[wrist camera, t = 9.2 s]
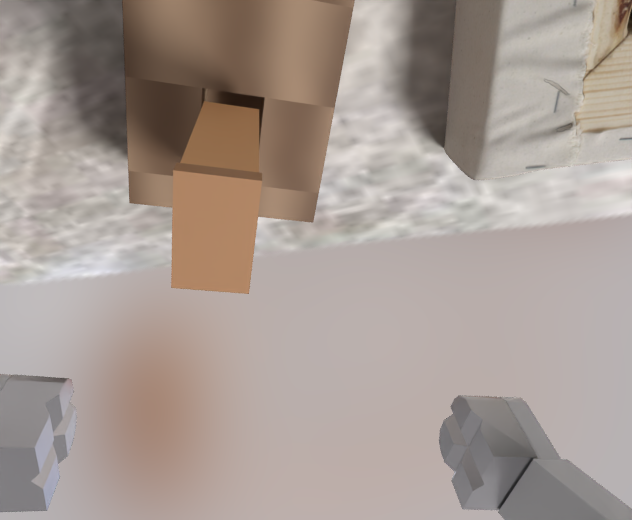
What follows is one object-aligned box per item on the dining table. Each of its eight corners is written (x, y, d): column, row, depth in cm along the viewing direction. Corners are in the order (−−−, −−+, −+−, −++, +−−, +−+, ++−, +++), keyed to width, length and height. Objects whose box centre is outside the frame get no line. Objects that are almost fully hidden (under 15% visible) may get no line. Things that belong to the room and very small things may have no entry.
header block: (147, 168, 35) (129, 202, 30) (143, -210, 25) (113, -255, 20) (305, 187, 38) (313, 222, 32) (364, -155, 27) (388, -182, 22)
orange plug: (198, 186, 29) (171, 287, 20) (202, 99, 26) (173, 170, 17) (251, 193, 29) (248, 293, 20) (261, 107, 26) (262, 180, 18)
